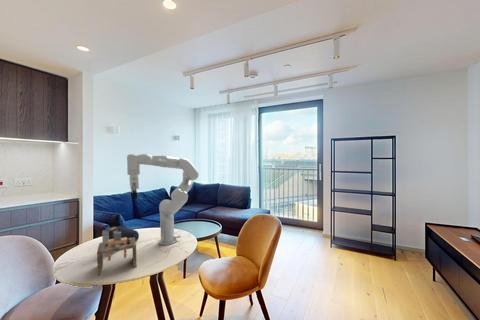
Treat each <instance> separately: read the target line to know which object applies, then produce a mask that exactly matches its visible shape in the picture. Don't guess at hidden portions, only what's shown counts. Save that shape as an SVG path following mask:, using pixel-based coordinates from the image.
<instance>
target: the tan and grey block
mask: <svg viewBox="0 0 480 320" xmlns="http://www.w3.org/2000/svg"><path fill="white" fill-rule="evenodd" d="M120 243H121V244H123V245H128V243H127V237H124V238H121V232H114V239H110V240H108V248H111V245H113V244H120ZM121 244H120V245H121ZM127 250H128V249H126V250H123V259H127V256H128V255H127ZM111 260H112V255H111V252H110V253H108V255H107V261H108V262H110V261H111Z"/></svg>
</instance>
